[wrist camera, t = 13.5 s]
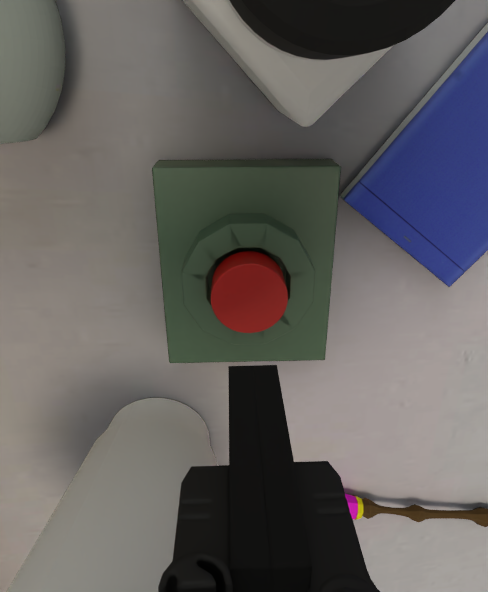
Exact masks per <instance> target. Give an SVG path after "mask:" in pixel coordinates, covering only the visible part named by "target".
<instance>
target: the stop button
mask: <svg viewBox="0 0 488 592" xmlns="http://www.w3.org/2000/svg"><path fill="white" fill-rule="evenodd" d="M287 303H288V292H287V287H286V284H285V280H284V276H283V273H282V271H281V269H280V267H279V266H278V264H277V263H276V262H275V261H274V260H273V259H271V258H270V257H268V256H267V255H265V254H262V253H259V252H254V251H243V252H238V253H235V254H233V255H231V256H229V257H227V258H226V259H224V260H223V261H222V262H221V263H220V264H219V266H218V267H217V269H216V270H215V272H214V275H213V279H212V288H211V306H212V309H213V312H214V314H215V315H216V317H217V318H218V319H219V321H220V322H221V323H222V324H224V325H225V326H226V327H228V328H230V329H232V330H234V331H238V332H242V333H255V332H260V331H263V330H266V329H268V328H270V327H271V326H273V325H274V324H275V323H276V322H277V321H278V320H279V319H280V318H281V317H282V315H283V314H284V312H285V310H286V307H287Z"/></svg>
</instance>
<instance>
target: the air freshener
mask: <svg viewBox="0 0 488 592" xmlns="http://www.w3.org/2000/svg"><path fill="white" fill-rule="evenodd" d="M64 72H65V42H64V36H63V29H62V23H61V18H60V15H59V12H58V8H57V5H56V2H55V0H0V144H3V143H14V142H23V141H29V140H34V139H36V138H37V137H38V136H39V135H40V134H41V132H42V131H43V130H44V129H45V128H46V126H47V124H48V122H49V120H50V118H51V117H52V115H53V113H54V111H55V109H56V106H57V103H58V100H59V97H60V94H61V91H62V86H63V79H64Z"/></svg>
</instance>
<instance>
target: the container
mask: <svg viewBox="0 0 488 592" xmlns="http://www.w3.org/2000/svg"><path fill="white" fill-rule="evenodd" d="M182 1H183V2H184V3H185V4H186V5H187V7H188V8H189V9H190V10H191V11H192V12H193V13H194V15H195V16H196V17H197V18H198V19H199V20H200V21H201V23H202V24H203V25H204V26H205V27H206V28H207V30H208V31H209V32H210V33H211V34H212V35H213V36H214V38H215V39H216V40H217V41H218V42H219V43H220V45H221V46H222V47H223V48H224V49H225V50H226V51H227V53H228V54H229V55H230V56H231V57H232V58H233V59H234V61H235V62H236V63H237V64H238V65H239V66H240V68H241V69H242V70H243V71H244V72H245V73H246V74H247V76H248V77H249V78H250V79H251V80H252V81H253V83H254V84H255V85H256V86H257V87H258V88H259V89H260V91H261V92H262V93H263V94H264V95H265V96H266V97H267V99H268V100H269V101H270V102H271V103H272V104H273V106H274V107H275V108H276V109H277V110H278V111H279V112H280V113H282V114H283V115H285V116H287V117H288V118H290V119H291V120H293V121H294V122H296V123H297V124H299V125H300V126H302V127H309V126H310V125H312V124H314V123H315V122H316V121H317V120H318V119H319V118H320V117H321V116H322V115H323V114H324V113H325V112H326V111H327V110H328V109H329V108H330V107H331V106H332V105H333V104H334V103H335V102H336V101H337V100H338V99H339V98H340V97H341V96H342V95H343V94H344V93H345V92H346V91H347V90H348V89H350V88H351V87H352V86H353V85H354V84H355V83H356V82H357V81H358V80H359V79H360V78H361V77H362V76H363V75H364V74H365V73H366V72H367V71H368V70H369V69H370V68H371V67H372V66H373V65H374V64H375V63H376V62H377V61H378V60H379V59H380V58H381V57H382V56H383V55H384V54H385V53H386V52H387V51H388V50H390V49H391V48H392V47H393V46H394V45H395V44H397V43H400V42H402V41H404V40H406V39H408V38H410V37H411V36H413V35H414V34H416V33H418V32H419V31H421V30H423V29H424V28H425V27H427V26H428V25H429V24H430V23H432V22H433V21H434V20H435V19H437V18H438V17H439V16H440V15H441V14H442V13H443V12H444V11H445V10H446V9H447V8H448V7H449V6H450V5H451V4H452V3H453V2H454V1H455V0H182Z"/></svg>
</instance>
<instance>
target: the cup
mask: <svg viewBox="0 0 488 592" xmlns="http://www.w3.org/2000/svg"><path fill="white" fill-rule="evenodd" d="M192 466H217V460H216V458H215V455H214V453H213V450H212V448H211V447H210V440H209V432H208V429H207V426H206V424H205V422H204V421H203V419H202V418H201V417H200V415H199V414H198V413H197V412H195V411H194V410H193V409H191V408H190V407H189V406H187V405H185V404H182V403H180V402H178V401H176V400H170V399H165V398H146V399H142V400H138V401H134V402H133V403H131V404H129V405H127V406H125V407H123V408H122V409H121V410H120V411H119V412H118V413H117V414H116V415H115V416H114V418H113V420H112V421H111V423H110V425H109V427H108V429H107V430H106V431H105V432H104V433H103V434H102V435H101V436H99V437H98V438H97V440H96V441H95V443H94V445H93V446H92V448H91V450H90V451H89V453H88V455H87V457H86V458H85V460H84V462H83V463H82V465H81V467H80V468H79V470H78V472H77V473H76V475H75V477H74V479H73V480H72V482H71V484H70V485H69V487H68V489H67V490H66V492H65V494H64V495H63V497H62V499H61V501H60V502H59V504H58V506H57V507H56V509H55V511H54V512H53V514H52V516H51V517H50V519H49V521H48V523H47V524H46V526H45V528H44V529H43V531H42V533H41V534H40V536H39V538H38V539H37V541H36V543H35V545H34V546H33V548H32V550H31V551H30V553H29V555H28V556H27V558H26V560H25V561H24V563H23V565H22V567H21V568H20V570H19V572H18V573H17V575H16V577H15V578H14V580H13V582H12V583H11V585H10V587H9V588H8V590H7V592H159V591H158V586H159V583H160V580H161V577H162V574H163V572H164V571H165V570H166V569H167V567H168V566H169V565H170V564H171V562H172V561H173V552H174V543H175V534H176V525H177V519H178V517H177V516H178V507H179V499H180V490H181V482H182V481H183V479H184V477H185V476H186V474H187V473H188V471H189V469H190V468H191V467H192Z"/></svg>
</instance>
